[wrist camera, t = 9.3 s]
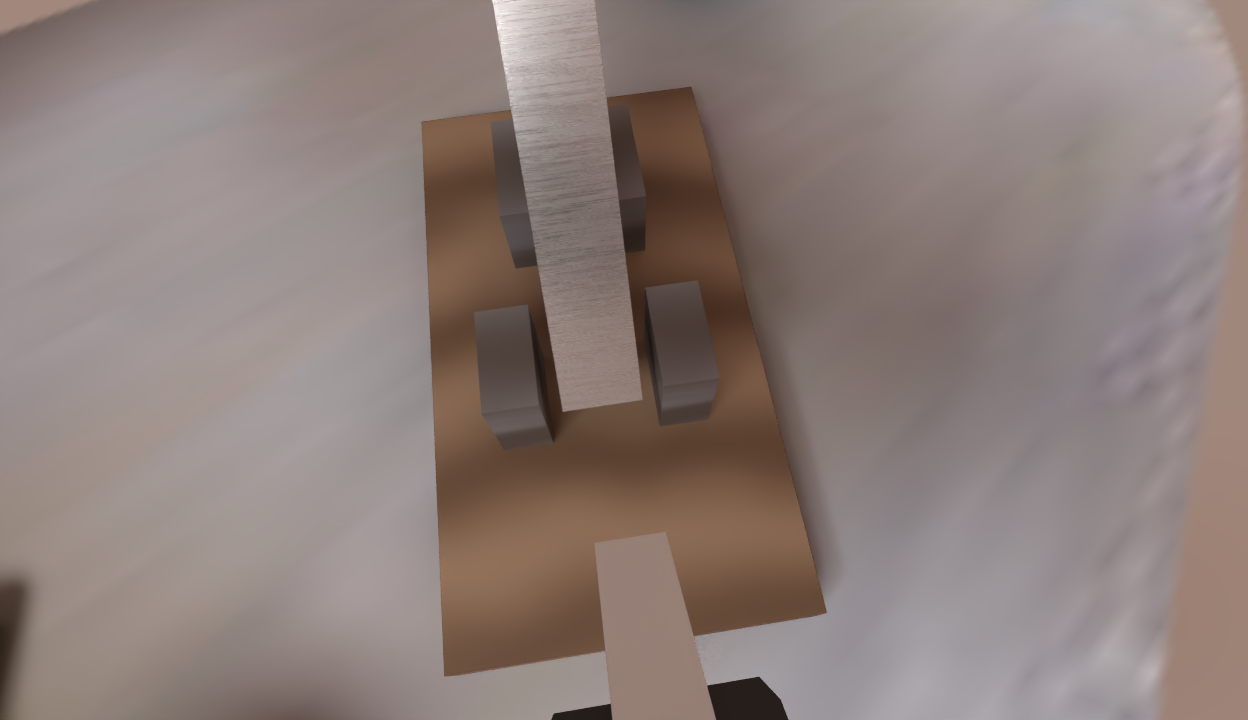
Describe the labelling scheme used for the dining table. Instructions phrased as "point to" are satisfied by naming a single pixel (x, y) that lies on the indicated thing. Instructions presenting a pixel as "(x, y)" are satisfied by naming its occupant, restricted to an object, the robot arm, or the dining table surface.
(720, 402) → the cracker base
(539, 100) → the lever
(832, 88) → the dining table surface
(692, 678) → the robot arm
